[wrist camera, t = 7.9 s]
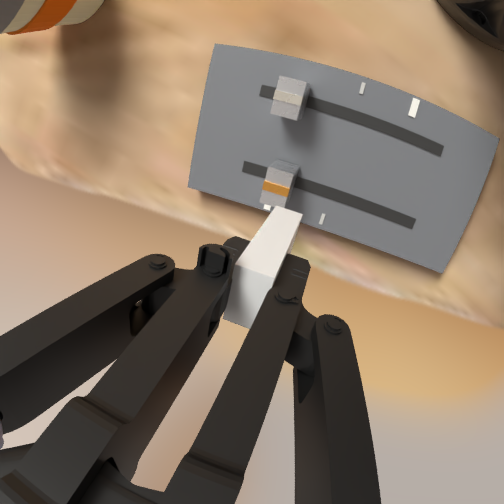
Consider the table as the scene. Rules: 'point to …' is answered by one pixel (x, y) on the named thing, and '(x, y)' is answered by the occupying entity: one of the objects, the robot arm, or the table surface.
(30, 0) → the reusable coffee cup
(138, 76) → the table surface
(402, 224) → the console
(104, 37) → the table surface
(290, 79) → the fader
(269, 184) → the fader
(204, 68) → the table surface
